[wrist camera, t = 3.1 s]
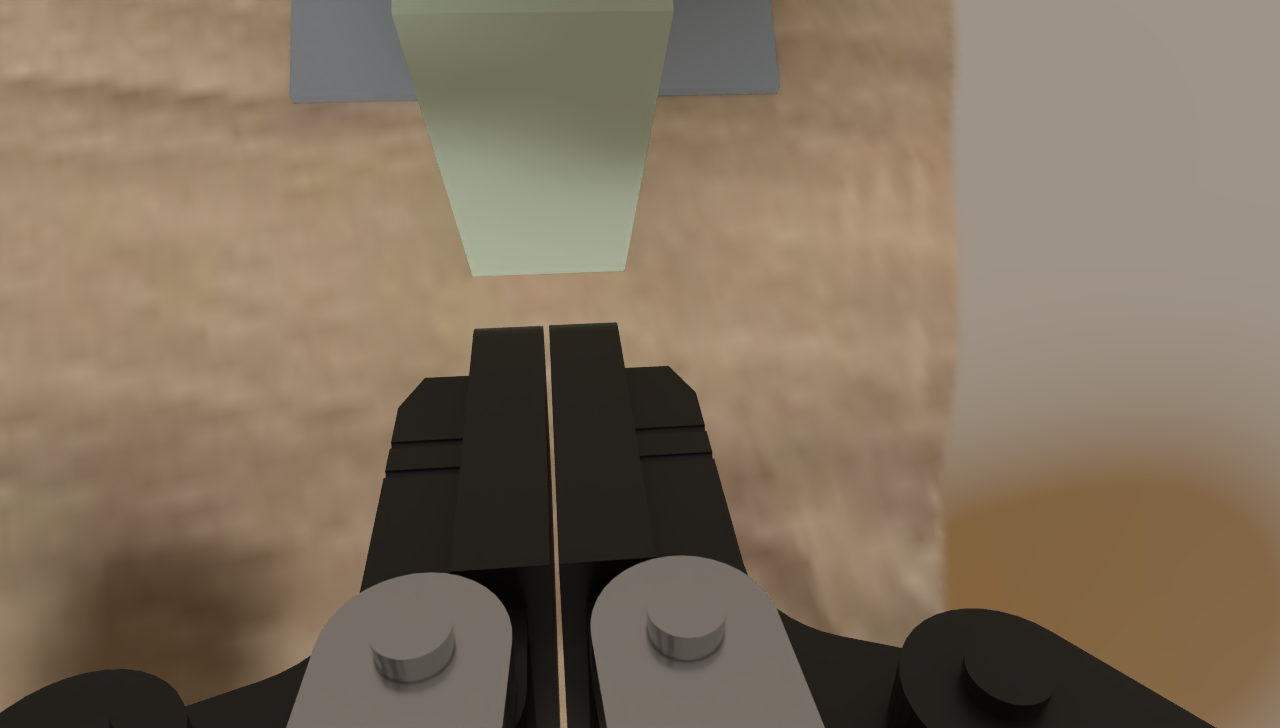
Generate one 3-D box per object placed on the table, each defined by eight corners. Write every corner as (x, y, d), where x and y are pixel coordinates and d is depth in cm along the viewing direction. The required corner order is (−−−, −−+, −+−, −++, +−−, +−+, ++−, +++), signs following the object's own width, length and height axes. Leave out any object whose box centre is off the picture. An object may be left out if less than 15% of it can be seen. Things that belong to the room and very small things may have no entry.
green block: (469, 137, 28) (389, -223, 15) (615, 133, 28) (654, -220, 16) (472, 276, 27) (391, 13, 14) (624, 270, 27) (673, 10, 15)
